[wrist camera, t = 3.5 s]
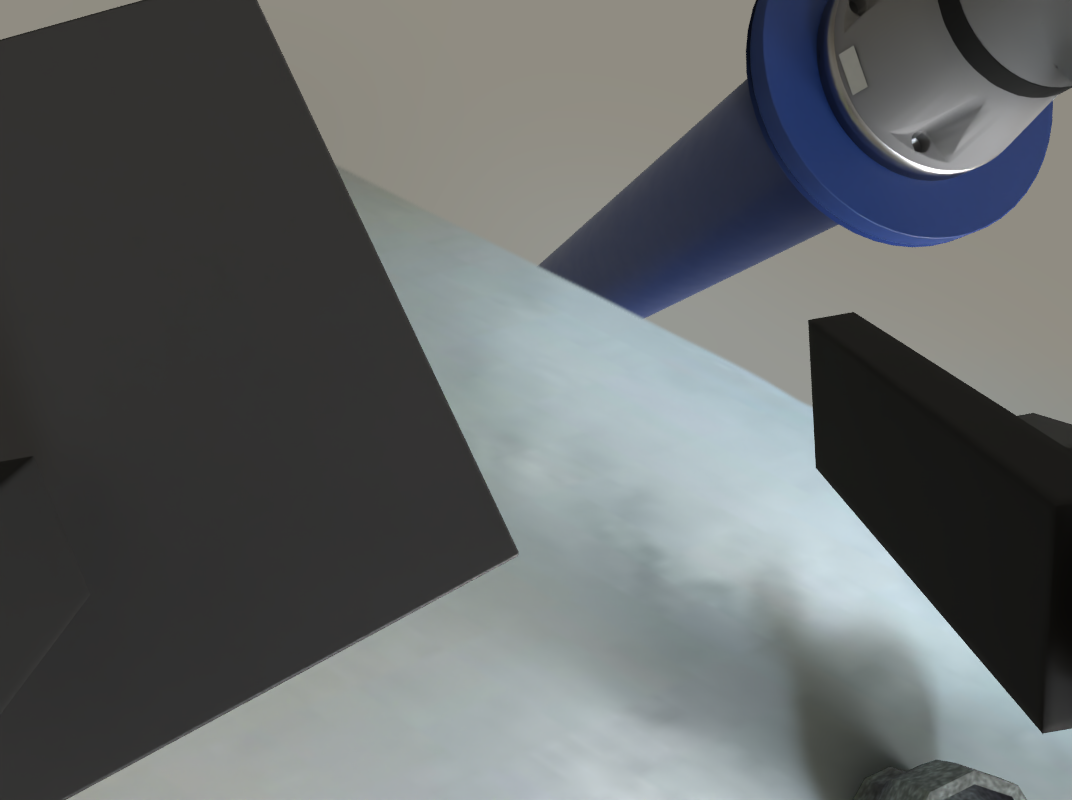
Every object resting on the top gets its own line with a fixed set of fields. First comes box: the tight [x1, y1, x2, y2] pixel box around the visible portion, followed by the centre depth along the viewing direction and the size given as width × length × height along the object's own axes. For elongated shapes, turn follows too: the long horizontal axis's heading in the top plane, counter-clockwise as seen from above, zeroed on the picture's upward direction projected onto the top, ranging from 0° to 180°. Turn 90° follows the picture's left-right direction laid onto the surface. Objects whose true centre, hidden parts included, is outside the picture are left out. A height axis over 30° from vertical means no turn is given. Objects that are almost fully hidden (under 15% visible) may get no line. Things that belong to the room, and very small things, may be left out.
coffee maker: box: [0, 0, 518, 800], centre depth 29 cm, size 22×14×28 cm, turn 117°
